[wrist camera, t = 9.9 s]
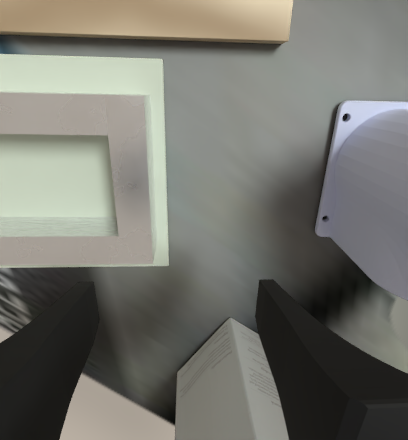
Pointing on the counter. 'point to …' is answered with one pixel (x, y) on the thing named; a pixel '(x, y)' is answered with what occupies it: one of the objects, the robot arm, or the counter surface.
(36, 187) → the mat
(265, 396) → the skincare box
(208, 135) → the counter surface
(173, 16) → the hook board
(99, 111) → the c link
